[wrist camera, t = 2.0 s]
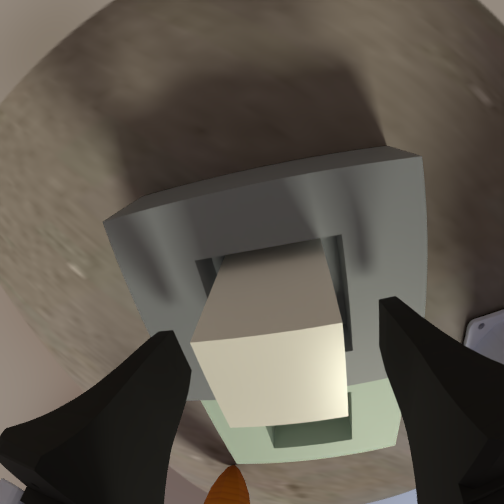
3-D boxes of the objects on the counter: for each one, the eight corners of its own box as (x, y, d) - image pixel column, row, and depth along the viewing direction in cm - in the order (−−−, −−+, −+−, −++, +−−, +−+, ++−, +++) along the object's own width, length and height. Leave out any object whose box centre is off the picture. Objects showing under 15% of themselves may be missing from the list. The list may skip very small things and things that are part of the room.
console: (142, 196, 15) (102, 221, 11) (386, 145, 13) (422, 156, 9) (240, 439, 22) (234, 479, 19) (389, 420, 20) (398, 461, 17)
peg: (319, 235, 13) (342, 322, 7) (330, 314, 14) (348, 416, 9) (226, 252, 14) (190, 342, 8) (248, 327, 15) (230, 427, 10)
